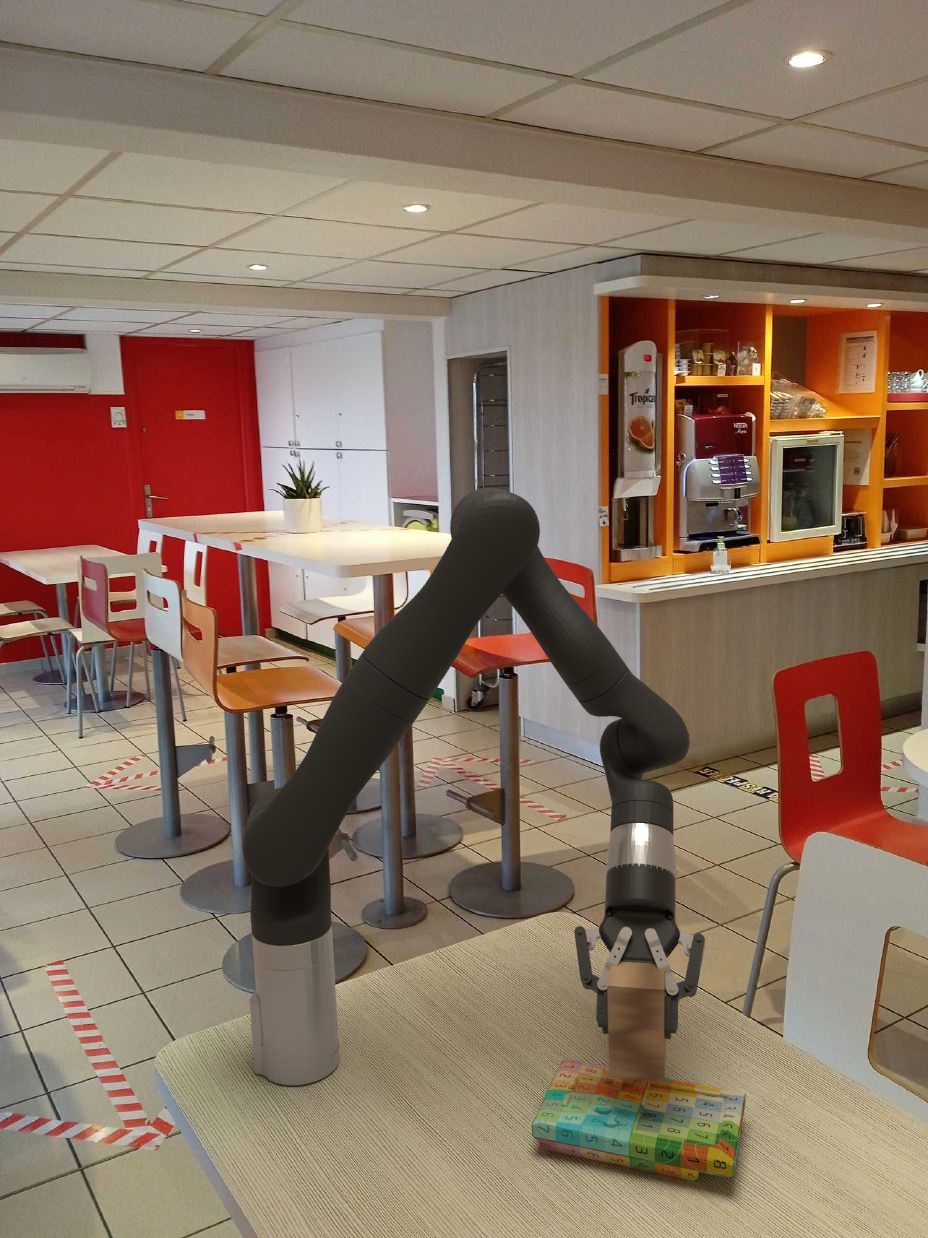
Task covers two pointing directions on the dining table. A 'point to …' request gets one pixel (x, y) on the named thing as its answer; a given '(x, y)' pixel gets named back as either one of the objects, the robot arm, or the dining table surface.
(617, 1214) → the dining table surface
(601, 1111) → the puzzle game
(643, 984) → the walnut block
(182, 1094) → the dining table surface
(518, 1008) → the dining table surface
